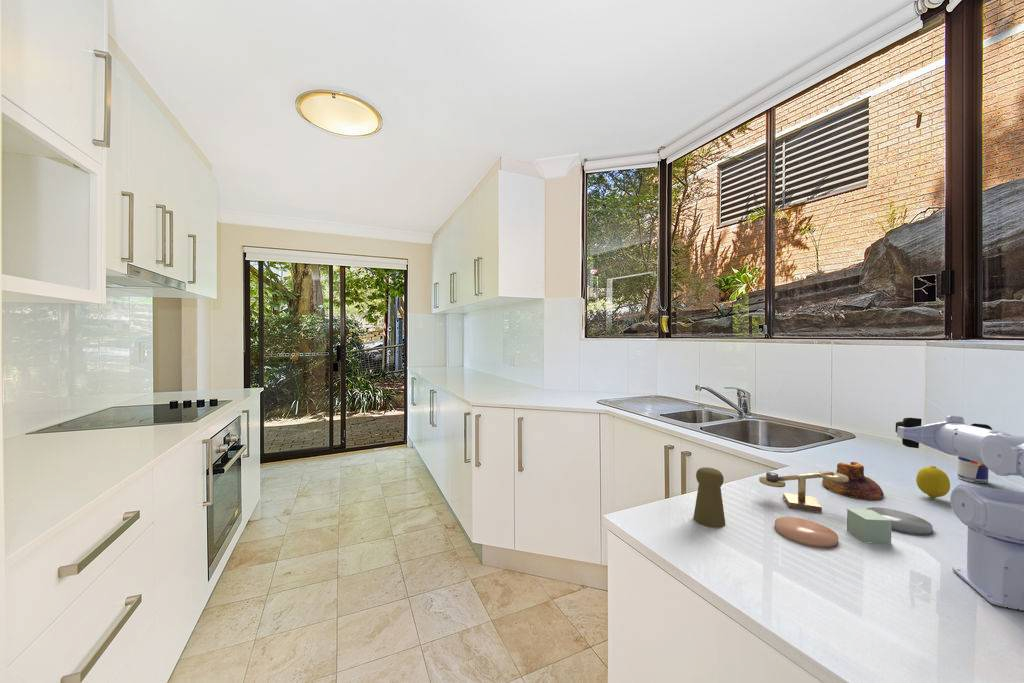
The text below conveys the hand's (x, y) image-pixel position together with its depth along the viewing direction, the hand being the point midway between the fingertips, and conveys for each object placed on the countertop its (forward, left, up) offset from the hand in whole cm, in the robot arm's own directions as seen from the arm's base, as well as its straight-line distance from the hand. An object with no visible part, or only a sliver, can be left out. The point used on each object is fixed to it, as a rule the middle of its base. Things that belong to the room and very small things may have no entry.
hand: (922, 429), depth 77 cm
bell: (+20, +5, -21) cm, 29 cm away
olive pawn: (-14, +39, -21) cm, 46 cm away
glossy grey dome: (+2, +3, -20) cm, 21 cm away
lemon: (+22, -11, -21) cm, 32 cm away
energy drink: (+43, -28, -21) cm, 56 cm away
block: (-8, +11, -21) cm, 24 cm away
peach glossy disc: (-12, +22, -20) cm, 32 cm away
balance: (+4, +19, -20) cm, 28 cm away
